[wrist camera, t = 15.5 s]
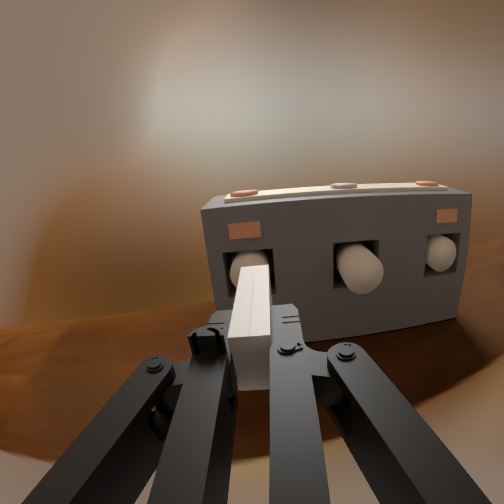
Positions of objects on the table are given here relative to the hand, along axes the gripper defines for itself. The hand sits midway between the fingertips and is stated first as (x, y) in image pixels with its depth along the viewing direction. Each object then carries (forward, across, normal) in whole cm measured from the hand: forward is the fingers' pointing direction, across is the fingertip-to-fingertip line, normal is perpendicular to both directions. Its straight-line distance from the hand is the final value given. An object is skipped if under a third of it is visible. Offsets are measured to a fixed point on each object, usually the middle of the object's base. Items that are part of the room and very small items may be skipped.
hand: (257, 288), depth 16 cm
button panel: (+17, +9, -14) cm, 24 cm away
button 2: (+15, +20, -7) cm, 26 cm away
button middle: (+13, +9, -7) cm, 17 cm away
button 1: (+15, -2, -6) cm, 17 cm away
